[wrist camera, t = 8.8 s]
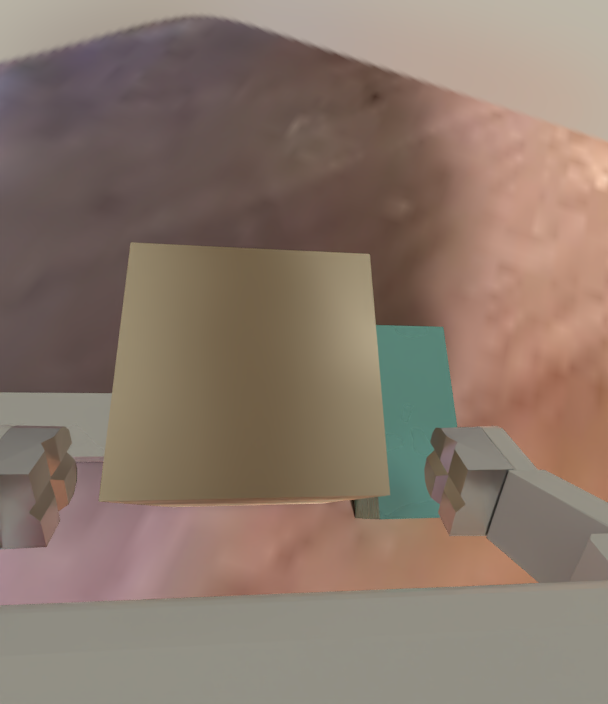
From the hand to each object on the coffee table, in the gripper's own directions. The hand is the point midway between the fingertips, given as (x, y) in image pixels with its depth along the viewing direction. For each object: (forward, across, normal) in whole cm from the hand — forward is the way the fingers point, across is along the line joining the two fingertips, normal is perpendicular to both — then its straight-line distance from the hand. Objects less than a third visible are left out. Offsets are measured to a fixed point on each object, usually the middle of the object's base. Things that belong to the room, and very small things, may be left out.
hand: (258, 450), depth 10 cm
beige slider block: (+5, 0, +3) cm, 6 cm away
